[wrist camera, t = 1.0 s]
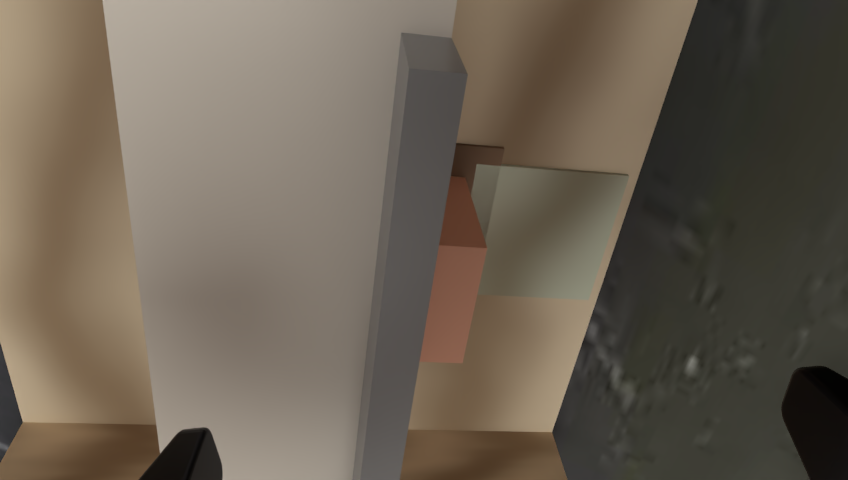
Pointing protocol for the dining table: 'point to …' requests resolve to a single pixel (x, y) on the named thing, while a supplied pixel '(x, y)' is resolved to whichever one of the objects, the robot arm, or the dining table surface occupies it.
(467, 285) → the coral block
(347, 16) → the lid
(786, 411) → the robot arm
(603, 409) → the dining table surface
